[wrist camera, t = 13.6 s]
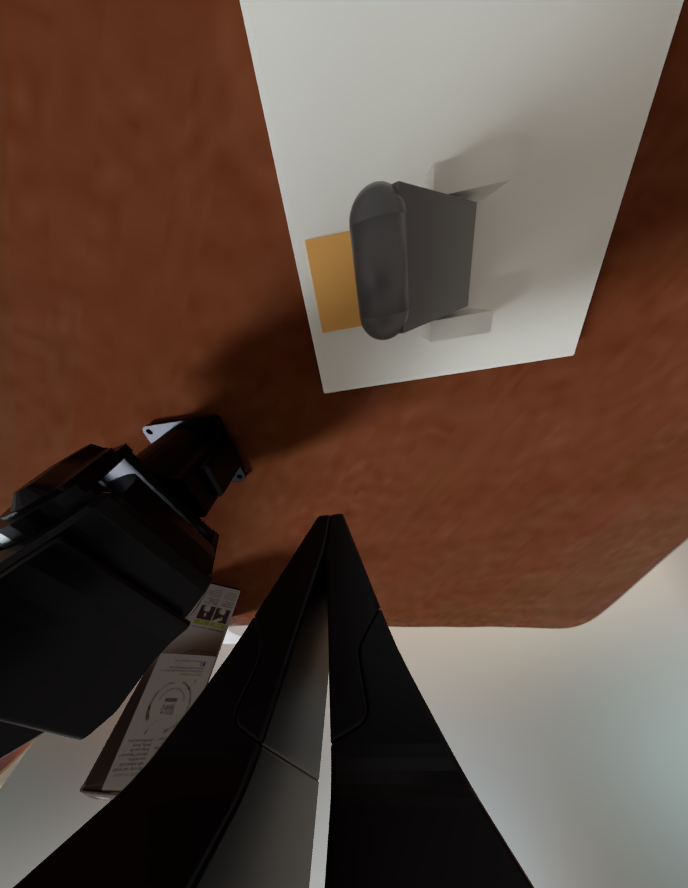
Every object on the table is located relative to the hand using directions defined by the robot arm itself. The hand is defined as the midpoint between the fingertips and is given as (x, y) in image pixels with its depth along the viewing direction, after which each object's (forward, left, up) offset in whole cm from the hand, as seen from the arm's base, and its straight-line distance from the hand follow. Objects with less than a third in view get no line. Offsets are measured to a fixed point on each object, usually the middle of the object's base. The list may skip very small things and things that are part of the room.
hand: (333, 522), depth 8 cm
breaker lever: (+7, +7, -10) cm, 14 cm away
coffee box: (-23, -27, -12) cm, 38 cm away
